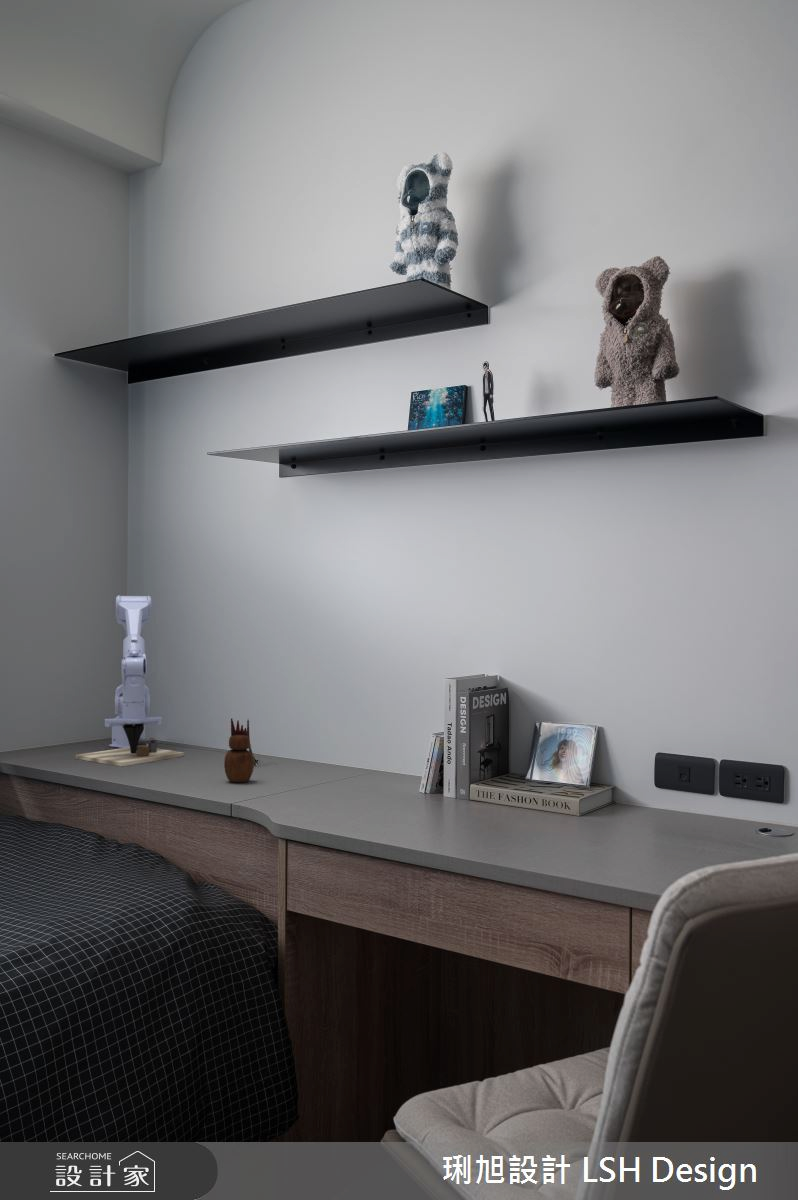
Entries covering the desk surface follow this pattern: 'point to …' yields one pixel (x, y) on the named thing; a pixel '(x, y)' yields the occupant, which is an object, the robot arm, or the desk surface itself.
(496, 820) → the desk surface
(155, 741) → the keeper
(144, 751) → the wooden stick
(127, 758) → the base plate
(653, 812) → the desk surface
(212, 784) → the desk surface
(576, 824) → the desk surface
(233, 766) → the wooden figurine
